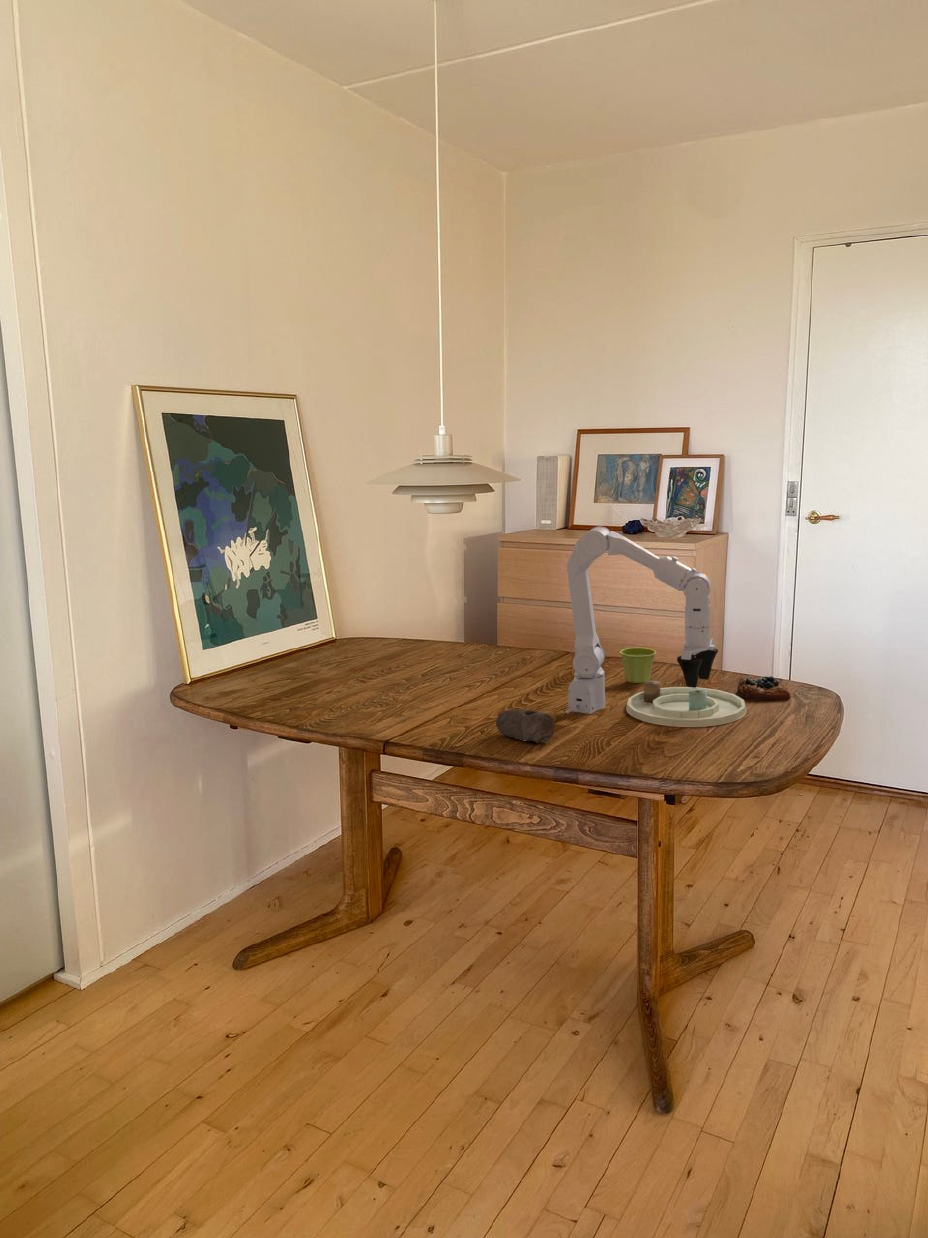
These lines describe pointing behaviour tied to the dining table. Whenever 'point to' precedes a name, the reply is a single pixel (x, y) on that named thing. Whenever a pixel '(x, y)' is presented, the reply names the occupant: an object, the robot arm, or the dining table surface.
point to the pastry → (762, 689)
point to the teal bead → (697, 699)
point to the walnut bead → (651, 691)
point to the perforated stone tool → (526, 725)
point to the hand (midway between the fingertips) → (697, 683)
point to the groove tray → (687, 708)
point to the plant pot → (637, 664)
